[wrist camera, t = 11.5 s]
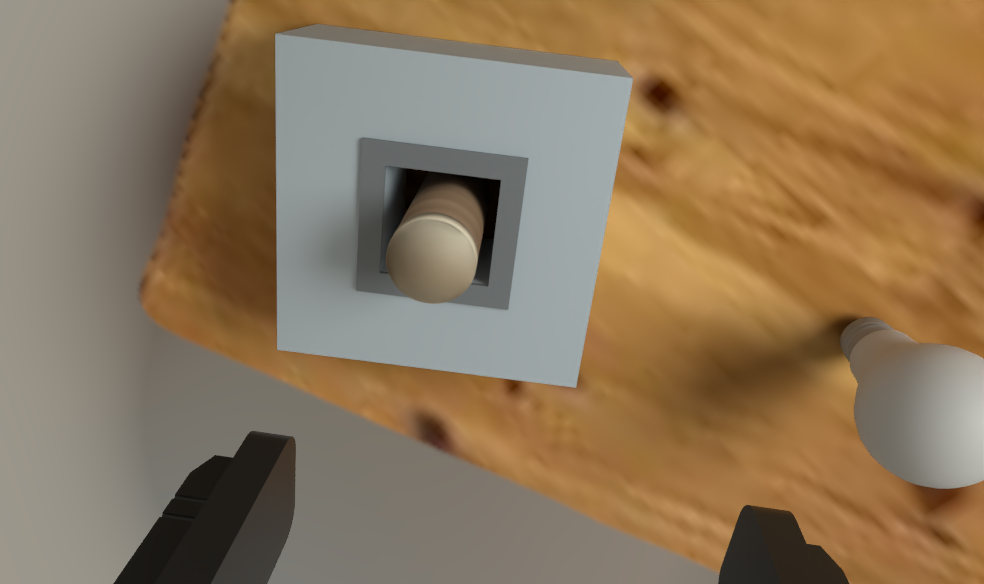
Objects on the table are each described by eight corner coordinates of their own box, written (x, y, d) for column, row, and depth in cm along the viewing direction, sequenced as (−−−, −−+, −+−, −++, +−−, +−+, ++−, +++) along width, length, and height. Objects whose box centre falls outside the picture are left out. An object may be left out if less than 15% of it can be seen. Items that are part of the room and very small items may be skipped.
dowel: (425, 152, 36) (388, 213, 27) (495, 160, 36) (481, 224, 27) (420, 218, 38) (383, 297, 28) (487, 226, 37) (471, 309, 28)
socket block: (317, 23, 34) (273, 34, 28) (617, 61, 34) (633, 79, 28) (313, 297, 40) (275, 351, 34) (570, 330, 40) (576, 389, 34)
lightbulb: (809, 394, 40) (900, 534, 30) (789, 297, 38) (880, 413, 28) (925, 365, 39) (1060, 500, 29) (912, 263, 37) (1052, 372, 27)
